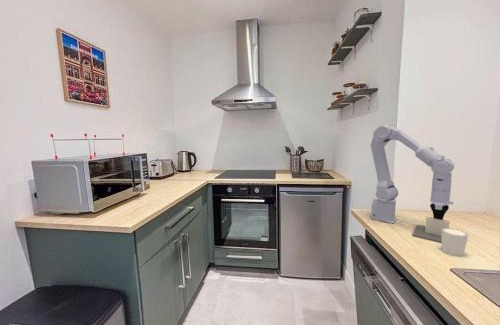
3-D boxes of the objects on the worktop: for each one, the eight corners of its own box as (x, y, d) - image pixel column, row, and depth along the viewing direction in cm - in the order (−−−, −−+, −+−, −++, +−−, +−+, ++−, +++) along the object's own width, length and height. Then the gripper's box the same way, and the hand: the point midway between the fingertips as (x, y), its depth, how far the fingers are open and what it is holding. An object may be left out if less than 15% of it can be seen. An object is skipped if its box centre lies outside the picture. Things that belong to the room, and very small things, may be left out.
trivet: (412, 235, 89) (412, 234, 89) (416, 226, 99) (416, 224, 99) (456, 246, 80) (456, 245, 80) (457, 234, 90) (457, 233, 90)
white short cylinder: (469, 258, 73) (471, 238, 72) (441, 253, 76) (443, 233, 75) (463, 249, 78) (465, 230, 78) (437, 244, 82) (439, 226, 81)
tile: (425, 232, 91) (426, 217, 90) (425, 230, 93) (426, 216, 92) (447, 237, 86) (449, 222, 86) (448, 235, 88) (449, 220, 87)
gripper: (454, 195, 81) (450, 231, 83) (454, 187, 92) (451, 219, 94) (429, 191, 86) (426, 226, 88) (432, 185, 97) (429, 215, 98)
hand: (437, 222), depth 91 cm, fingers closed
